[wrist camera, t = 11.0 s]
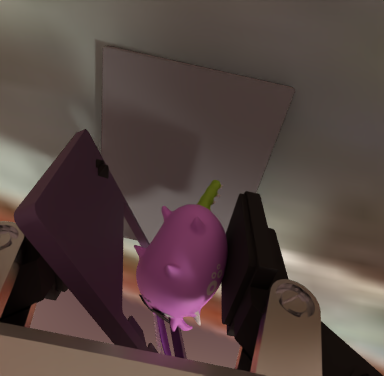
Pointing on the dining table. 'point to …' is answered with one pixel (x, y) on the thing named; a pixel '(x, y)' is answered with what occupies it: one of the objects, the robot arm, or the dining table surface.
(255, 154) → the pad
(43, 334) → the robot arm
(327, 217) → the dining table surface
